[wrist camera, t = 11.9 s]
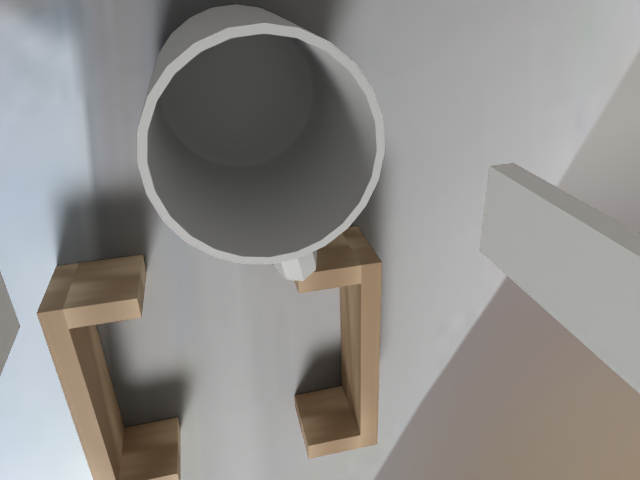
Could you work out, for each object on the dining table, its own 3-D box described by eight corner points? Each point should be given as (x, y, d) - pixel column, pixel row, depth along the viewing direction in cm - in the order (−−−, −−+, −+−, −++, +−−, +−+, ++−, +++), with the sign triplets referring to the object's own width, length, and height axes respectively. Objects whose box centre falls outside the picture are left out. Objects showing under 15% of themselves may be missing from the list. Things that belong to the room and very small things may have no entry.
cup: (296, -19, 22) (359, -11, 14) (346, 196, 27) (414, 290, 19) (123, 30, 21) (89, 67, 13) (207, 241, 26) (219, 358, 18)
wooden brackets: (110, 443, 31) (101, 503, 28) (56, 266, 25) (36, 313, 22) (357, 395, 34) (377, 444, 30) (357, 226, 28) (381, 262, 25)
